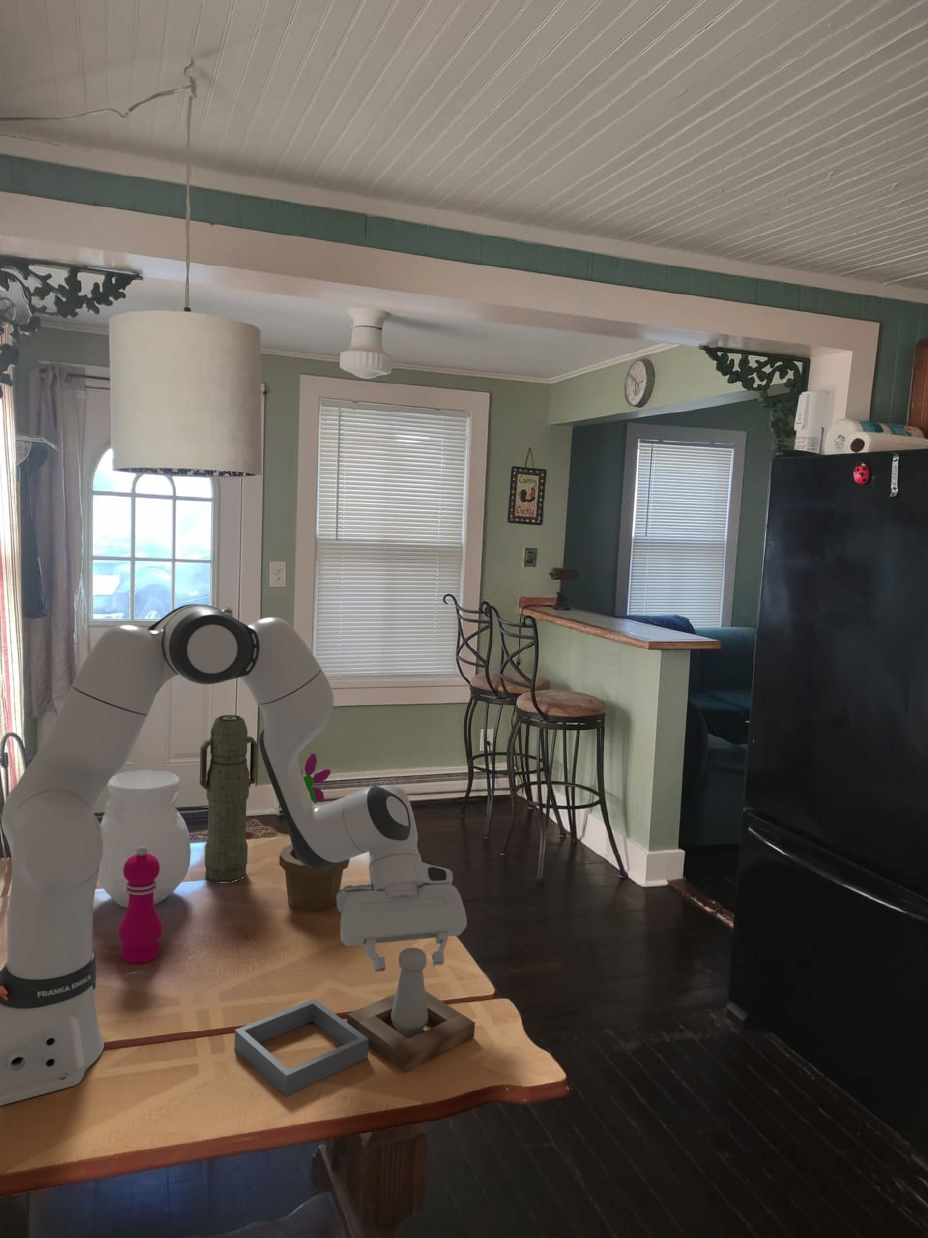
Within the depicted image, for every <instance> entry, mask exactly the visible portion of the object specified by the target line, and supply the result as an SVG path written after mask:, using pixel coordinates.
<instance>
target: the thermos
mask: <svg viewBox="0 0 928 1238" xmlns="http://www.w3.org/2000/svg"><path fill="white" fill-rule="evenodd" d="M245 721H246V720H245V719H244V717H242V716H240V715H235V714H225V715H220V716H218V717H216V718H215V719H214V721H213V724H212V726H211V730H210V738H209V739H208V740H204V741H203V743H202V744H201V746H200V750H199V751H200V757H199V759H200V760H199V761H200V762H199V765H200V766H199V786H201V787H202V788H203V789H204V790H206V799H207V802H208V818H207V820H208V822H207V827H208V828H207V841H206V844H205V846H204V867H205V873H204V876H205V879H206V880H207V879H208V881H209V882H211V881H213V882H212V883H215V882H218V883H217V884H220V883H219V882H232V881H235V880H238V879H241V878H242V877H244V876H245V875H246V876H247V864H248V853H249V845H248V843H247V839H246V832H247V831H246V829H247V828H246V827H247V800H248V799H249V795H250V788H251V786H252V785H254V784H255V783H256V780H257V779H256V777H257V754H258V753H257V752H258V751H257V750H258V743H257V741H256V740H255V738H254V737H253V736H248V732H249V731H248V727H247V725H246V722H245ZM248 744H250V757H249V758H250V759H249V768H248V760H247V753H248ZM209 746H210V751H209V752H210V757H211V758H210V759H209V760H210V761H209V767H208V766H207V764H208V763H207V762H208V759H207V758H208V748H209ZM207 768H208V769H207ZM246 876H245V877H246ZM245 877H244V878H245ZM241 880H242V879H241ZM232 883H233V882H232Z"/></svg>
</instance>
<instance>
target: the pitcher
mask: <svg viewBox="0 0 928 1238" xmlns="http://www.w3.org/2000/svg"><path fill="white" fill-rule="evenodd" d="M180 782H181V780H180V777H179V776H178V775H176V774H174V773H173V772H170V771H163V770H154V769H141V770H139V769H138V770H137V769H136V770H129V771H128V770H127V771H123V772H120V773H115V774H114V775H113V776H112V778H111V779H110V780H109V782H108V783H107V785H106V786H107V790H108V791H109V794H110V797H109V799H108V800H107V801H106V802H105V806H104V808H103V809H104V810H103V811H104V814H103V815H102V820H101V821H100V825H101V829H102V835H103V856H102V859H101V862H100V865H99V872H98V878H97V882H98V883H99V885H100V886H101V887H102V889H104V891H105V892H106V893H107V895H108V896H110V897H111V898H112V900H113V901H114V902H115V903H116V904H117V905H118V906H120V907H122V908H126V909H127V908H128V905H129V893H128V892H127V891H126V888H127V886H126V883H127V882H128V880H127V879H126V878H125V877H124V874H123V869H124V865H125V863H126V861H127V860H128V859H129V858H130V857H131V856H133V855H136V854H137V852H136V851H137V849H138V847H140V846H145V847H146V848H147V854H151V855H153V856H154V857H156V858H157V860H158V862H159V865H160V871H159V874H158V876H157V877H156V878H155V880H156V881H157V883H156V890H155V891H154V895H153V900H154V906H155V905H158V904H160V903H161V902H163V900H165V899H166V898H168V897H169V896H170V895H171V894H172V893H173V892H174V891H176V889H177V888H178V887H179V886H180V885H181V883H182V882H184V879H185V877H186V876H187V873H188V872H189V868H190V865H191V855H192V853H191V851H192V850H191V840H190V833H189V830H188V826H187V824H186V821H185V819H184V818H183V816H182V815H181V813H180V812H179V811H178V809H177V808H175V805H176V803H177V800H178V798H179V791H180V789H179V788H180Z"/></svg>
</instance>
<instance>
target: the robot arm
mask: <svg viewBox="0 0 928 1238" xmlns="http://www.w3.org/2000/svg"><path fill="white" fill-rule="evenodd" d="M176 676H180V677H182V678H185V679H186V680H188V681H190V682H191V683H195V684H200V685H214V684H220V683H224V682H228V681H230V680H235V679H238V678H240V679H241V680H242V681H243V682H244V683H245V684H246V685H247V687H248V689H249V690H250V692H251V695H252V696H253V698H254V700H255V702H256V703H257V705H258V707H259V708H260V709H259V710H260V712H261V715H262V718H263V726H264V728H263V729H262V731H260V734H259V740H258V744H259V748H260V753H261V754H260V755H261V757H262V761H263V764H264V766H265V767H264V768H265V769H266V772H267V775H268V778H269V780H270V784H271V786H272V788H273V791H274V794H275V796H276V798H277V802H278V804H279V807H280V809H281V812H282V815H283V818H284V820H285V822H286V824H287V826H288V827H287V826H286V827H287V829H288V833H289V838H290V842H291V844H292V847H293V850H294V852H295V855H296V857H297V858H298V860H299V861H301V862H302V863H303V864H305V865H306V866H308V867H310V868H312V869H315V870H318V871H325V870H327V869H329V868H331V867H333V866H335V865H337V864H339V863H341V862H343V861H344V860H347V859H350V860H351V859H352V858H354V857H358V856H360V855H363V854H366V853H369V864H368V870H369V878H370V879H369V880H370V883H365V884H362V883H361V884H358V885H353V884H352V885H350V884H349V885H345V886H344V888H342V889H341V888H340V891H339V892H338V893H337V896H336V901H337V905H336V908H337V910H338V911H339V913H340V923H339V925H340V929H339V931H340V933H339V934H340V940H341V941H340V942H341V943H343V944H344V946H345V947H352V946H362V945H364V952H365V954H366V955H367V956H368V958H369V959H370V960H371V962H373V970H374V973H379V972H385V970H386V968H387V967H386V963H385V962H386V958H385V956H380V955H379V954H378V952H377V951H376V950H375V947H376V945H377V944H383V943H393V942H394V943H395V942H396V943H397V942H406V941H416V940H425V939H435V942H436V944H437V945H439V946H438V948H437V951H433V952H432V954H431V960H432V965H433V966H434V967H436V966H443V965H445V956H444V951H445V947H446V946H447V942H448V940H449V938H448V937H455V936H456V937H458V936H460V935H461V934H462V933H463V932H464V931H465V929H466V927H467V924H468V920H467V915H466V910H465V907H464V906H465V905H464V902H463V899H462V896H461V893H460V892H459V890H458V889H457V887H456V886H454V885H453V884H452V882H453V879H454V877H453V876H454V875H453V871H452V870H451V869H448V868H444V867H440V866H436V865H432V864H429V863H426V862H423V861H422V857H421V854H420V853H419V852H420V851H419V850H418V839H419V834H418V829H417V825H416V820H415V815H414V811H413V808H412V805H411V802H410V799H409V797H408V794H407V792H405V790H404V789H402V788H401V787H399V786H396V785H389V784H384V785H383V784H382V785H378V786H377V785H373V786H371V787H366V788H363V789H360V790H358V791H354V792H352V793H349V794H347V795H346V796H343V797H341V798H338V799H335V800H333V801H331V802H328V803H325V804H318V803H317V804H315V803H313V802H312V800H311V797H310V794H309V791H308V789H307V787H306V784H305V781H304V779H303V776H304V775H303V776H302V773H301V771H302V770H301V767H300V765H299V761H298V760H299V754H300V753H301V752H302V751H303V750H304V748H305V747H306V746H308V744H309V743H311V742H312V741H313V740H314V739H315V738H316V737H317V736H318V734H319V733H320V732H321V731H322V730H323V728H324V727H325V725H326V724H327V723H328V721H329V719H330V718H331V715H332V712H333V708H334V704H335V702H334V698H335V697H334V693H333V690H332V686H331V684H330V682H329V680H328V677H327V676H326V675H325V673H324V671H323V669H322V667H321V666H320V664H319V662H318V660H317V659H316V657H315V656H314V654H313V652H312V650H311V649H310V648H309V647H308V645H307V643H306V642H305V640H303V639H302V637H301V635H300V634H299V633H298V632H297V631H296V630H295V628H294V627H293V626H292V625H291V624H290V623H289V622H288V621H287V620H286V619H284V618H281V617H277V616H272V617H271V616H270V617H264V618H260V619H259V618H258V619H257V620H255V621H253V622H250V624H245V623H244V622H242V621H240V620H238V619H237V618H235V617H234V616H232V615H230V614H228V613H226V612H224V611H223V610H221V609H220V608H218V607H215V606H213V605H208V604H199V603H198V604H197V603H191V604H185V605H181V606H179V607H177V608H175V609H173V610H171V611H170V612H168V614H166V615H164V616H163V617H162V618H160V619H159V620H158V621H156V622H155V623H153V624H152V625H150V626H149V627H148V628H144V627H141V626H138V625H133V624H118V625H115V626H111V627H109V628H107V630H106V631H104V632H103V634H102V635H101V636H100V638H99V639H98V640H97V642H96V643H95V644H94V646H93V647H92V649H91V650H90V652H89V653H88V655H87V656H86V658H85V660H84V662H83V663H82V665H81V666H80V669H79V670H78V672H77V673H76V676H75V678H74V680H73V682H72V683H71V686H70V688H69V689H68V693H67V694H66V697H65V698H64V701H63V703H62V705H61V707H60V709H59V711H58V714H57V716H56V718H55V720H54V722H53V724H52V726H51V729H50V730H49V732H48V734H47V737H46V738H45V740H44V741H43V743H42V745H41V746H40V748H39V750H38V751H37V753H35V755H34V757H33V758H32V760H31V762H30V763H29V764H28V766H27V767H26V769H25V770H24V772H23V773H22V775H21V776H20V779H19V780H18V782H17V783H16V784H15V786H14V787H13V788H12V789H11V790H10V792H9V793H8V795H7V796H6V798H5V801H4V803H3V807H2V813H1V821H0V822H1V827H2V831H3V833H4V835H5V838H6V841H7V844H8V846H9V851H10V855H11V862H12V863H11V864H12V865H11V866H12V869H11V870H12V871H11V887H10V897H9V902H8V903H9V904H8V908H7V912H6V962H5V963H4V966H2V969H1V970H0V1107H1V1106H4V1105H7V1104H11V1103H15V1102H20V1101H23V1100H25V1099H30V1098H32V1097H37V1096H40V1095H45V1094H48V1093H52V1092H56V1091H59V1090H63V1089H66V1088H67V1089H68V1088H70V1087H75V1086H76V1085H78V1084H79V1083H81V1082H82V1080H83V1078H84V1077H85V1074H86V1071H87V1069H88V1068H89V1067H90V1066H92V1065H93V1064H94V1063H95V1062H96V1061H97V1060H98V1058H99V1057H101V1054H102V1052H103V1050H104V1048H105V1047H104V1046H105V1041H104V1037H103V1036H102V1032H101V1028H100V1025H99V1021H98V1016H97V1010H96V1002H95V992H94V991H95V990H96V986H97V985H96V983H97V982H96V981H97V971H98V970H97V969H98V968H97V961H96V952H95V951H94V950H93V947H94V946H93V943H94V941H93V940H94V935H93V934H94V929H93V928H94V923H93V922H94V901H95V895H96V894H95V893H96V888H97V884H98V883H97V882H98V872H99V865H100V862H101V859H102V856H103V835H102V829H101V825H100V824H101V822H100V821H99V820H98V818H97V816H96V815H95V814H94V812H93V811H94V806H95V804H96V801H97V799H98V798H99V796H100V795H101V793H102V792H103V790H104V789H105V788H106V786H108V785H107V783H108V782H109V780H110V779H111V778H112V777H113V776H114V775H116V774H117V772H118V771H120V770H121V769H122V768H123V767H124V766H125V764H126V763H127V761H128V760H129V757H130V754H131V752H132V750H133V748H134V745H135V744H136V741H137V739H138V738H139V734H140V733H141V730H142V728H143V726H144V723H145V722H146V719H147V717H148V714H149V712H150V710H151V708H152V706H153V704H154V701H155V698H156V696H157V694H158V693H159V691H160V690H161V688H162V686H164V684H165V683H166V682H168V681H169V680H170V679H172V678H174V677H176ZM300 770H301V771H300Z"/></svg>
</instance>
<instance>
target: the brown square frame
mask: <svg viewBox="0 0 928 1238" xmlns="http://www.w3.org/2000/svg"><path fill="white" fill-rule="evenodd" d="M425 995H426V1003H427V1011H428V1022H427V1024H428V1025H430V1026H432V1027H431V1028H429V1029H426V1030H424V1031H422V1032H421V1033H420V1034H418V1035H415V1036H413V1037H411V1038H409V1039H407V1038H405V1037H404V1036H403V1035H401V1034H400V1033H398V1032H397V1031H396V1029H395V1028H393V1027H391V1026H390V1025H391V1024H392V1020H391V1013H392V1008H393V1004H394V1000H395V996H396V993H394V994H392V995H390V996H386V997H384V998H382V999H379V1000H377V1001H375V1002H372V1003H369V1004H368V1005H365V1006H363V1007H361V1008H358V1009H355V1010H354V1011H352V1012H349V1013H347V1015H346V1020H347V1021H346V1022H347V1023H348V1024H349V1025H351V1026H352V1027H353V1028H355V1029H356V1030H357V1031H359V1032H360V1033H361V1034H363V1035H364V1036H365V1037H367V1038H368V1039H369V1041H368V1047H370V1048H371V1049H373V1050H374V1051H375V1052H377V1053H378V1054H379V1055H380V1056H382V1057H383V1058H384V1059H386V1060H387V1061H388V1062H390V1063H391V1064H392V1065H394V1066H395V1067H397V1069H399V1070H400V1071H401V1072H403V1073H406V1072H408V1071H411V1070H412V1069H413V1068H416V1067H418V1066H420V1065H423V1064H424V1063H426V1062H428V1061H430V1060H431V1059H434V1058H435V1057H438V1056H440V1055H442V1054H444V1053H445V1052H446V1053H447V1052H448V1051H450V1050H452V1049H454V1048H456V1047H459V1046H460V1045H462V1044H464V1043H466V1042H469V1041H470V1040H472V1039H474V1038H475V1028H476V1027H475V1025H476V1022H475V1021H474V1020H472V1019H471V1018H468V1017H467V1016H465V1015H464V1014H463V1013H461V1012H460V1011H458V1010H457V1009H454V1008H453V1007H452V1006H450V1005H448V1004H447V1003H446V1002H444V1001H442V1000H440V999H439V998H437V997H435V996H434V995H433V994H431V993H429V992H428V991H426V990H425ZM473 1037H474V1038H473ZM469 1039H470V1040H469Z"/></svg>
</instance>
